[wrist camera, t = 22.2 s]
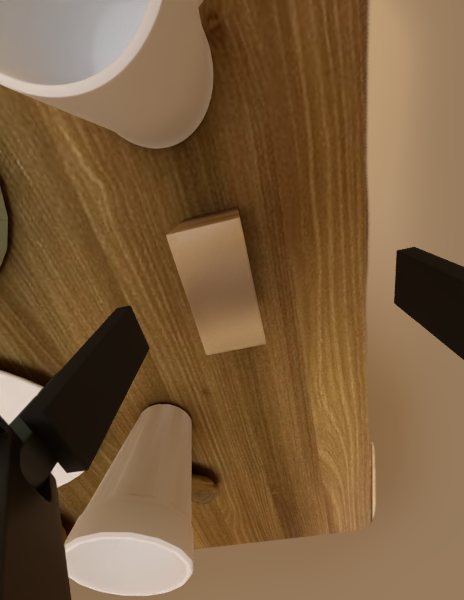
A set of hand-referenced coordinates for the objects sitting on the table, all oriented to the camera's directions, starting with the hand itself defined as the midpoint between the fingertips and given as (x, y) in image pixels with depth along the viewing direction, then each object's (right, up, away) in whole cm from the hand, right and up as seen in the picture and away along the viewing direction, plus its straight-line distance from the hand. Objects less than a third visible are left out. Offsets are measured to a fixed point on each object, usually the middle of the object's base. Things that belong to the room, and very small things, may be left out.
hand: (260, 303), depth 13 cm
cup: (-9, -14, +18) cm, 25 cm away
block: (-2, +3, +10) cm, 11 cm away
